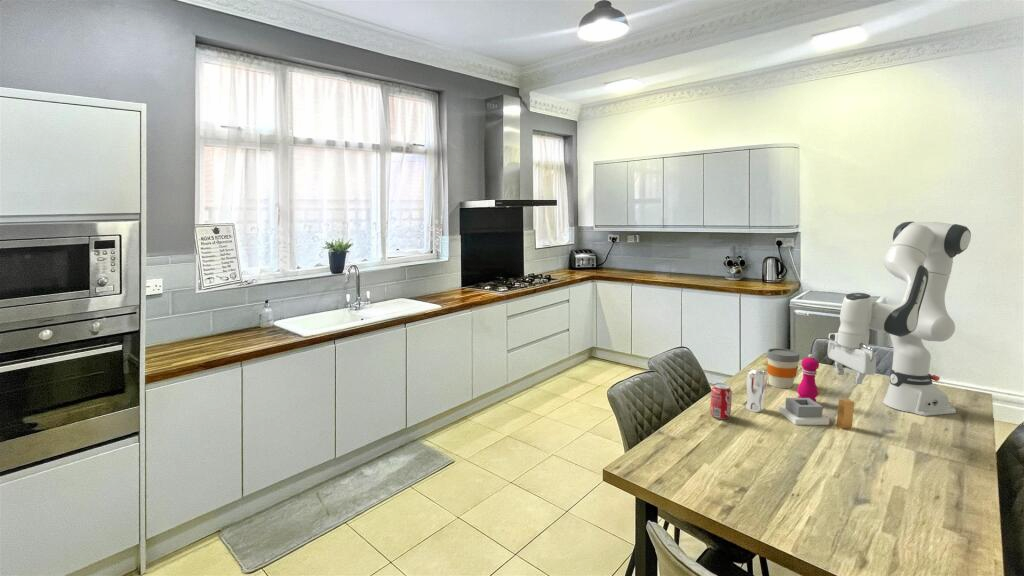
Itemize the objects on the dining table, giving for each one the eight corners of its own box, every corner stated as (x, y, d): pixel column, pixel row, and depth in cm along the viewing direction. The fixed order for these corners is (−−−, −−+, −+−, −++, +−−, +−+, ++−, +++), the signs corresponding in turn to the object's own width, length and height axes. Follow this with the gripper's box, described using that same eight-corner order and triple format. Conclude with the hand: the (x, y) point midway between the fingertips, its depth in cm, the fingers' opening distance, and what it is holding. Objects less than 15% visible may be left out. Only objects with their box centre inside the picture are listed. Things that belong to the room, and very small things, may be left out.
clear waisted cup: (764, 407, 191) (766, 370, 189) (764, 413, 185) (767, 375, 183) (744, 404, 194) (747, 368, 192) (744, 410, 188) (747, 373, 186)
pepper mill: (811, 399, 199) (815, 351, 196) (820, 406, 192) (825, 356, 189) (793, 398, 200) (797, 351, 197) (801, 405, 193) (805, 356, 190)
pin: (845, 425, 175) (848, 398, 173) (851, 429, 172) (854, 402, 170) (836, 425, 175) (839, 398, 173) (842, 429, 172) (845, 402, 170)
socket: (809, 411, 187) (810, 396, 186) (829, 424, 175) (830, 408, 174) (777, 411, 187) (779, 396, 186) (795, 424, 176) (796, 408, 175)
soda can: (729, 414, 185) (731, 383, 183) (731, 421, 179) (733, 390, 177) (709, 411, 187) (711, 381, 186) (710, 418, 181) (712, 387, 179)
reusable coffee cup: (789, 380, 221) (791, 348, 219) (802, 390, 209) (805, 356, 207) (760, 379, 222) (762, 347, 220) (771, 389, 210) (774, 355, 208)
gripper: (884, 348, 158) (879, 389, 160) (843, 333, 178) (839, 369, 180) (864, 348, 158) (859, 389, 160) (825, 333, 178) (821, 369, 180)
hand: (848, 378), depth 170 cm, fingers open, 8 cm apart
